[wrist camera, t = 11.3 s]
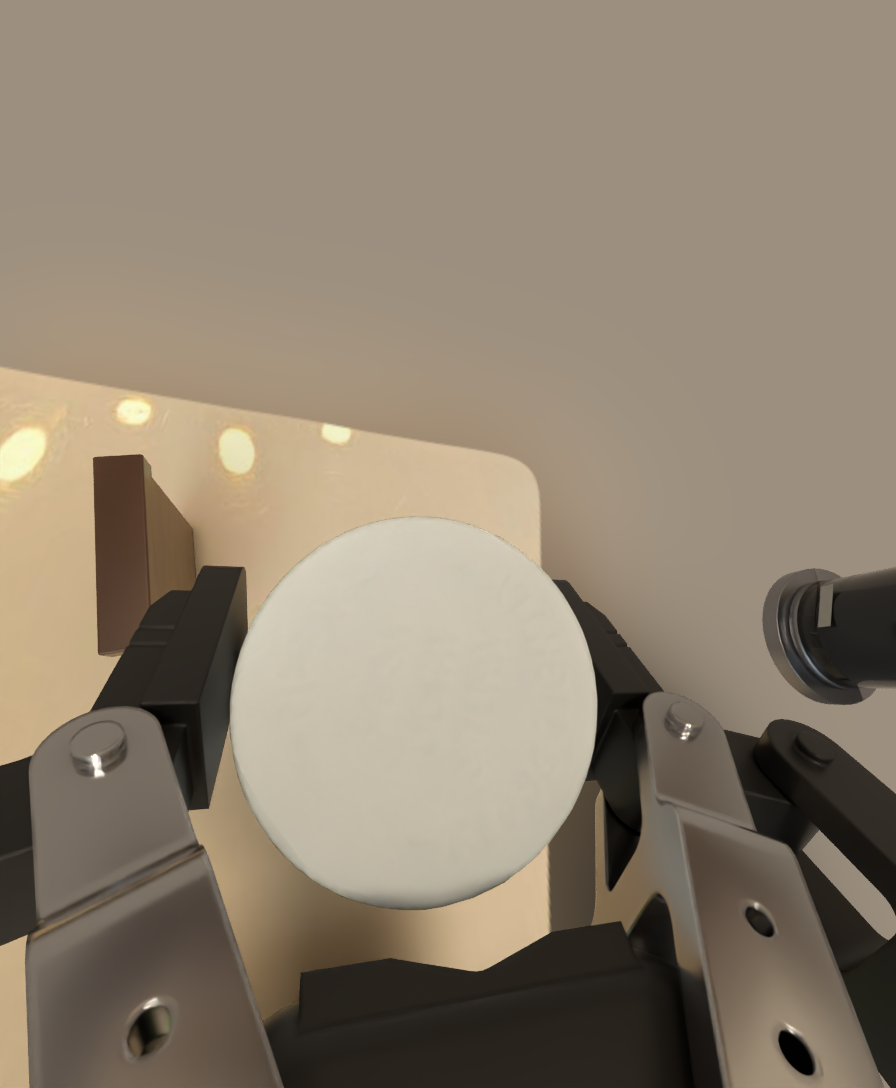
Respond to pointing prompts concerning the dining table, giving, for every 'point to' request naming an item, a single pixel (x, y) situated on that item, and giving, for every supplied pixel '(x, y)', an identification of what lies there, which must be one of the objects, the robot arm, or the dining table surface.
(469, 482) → the dining table surface
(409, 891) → the pill bottle
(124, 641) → the brown t-shaped panel
